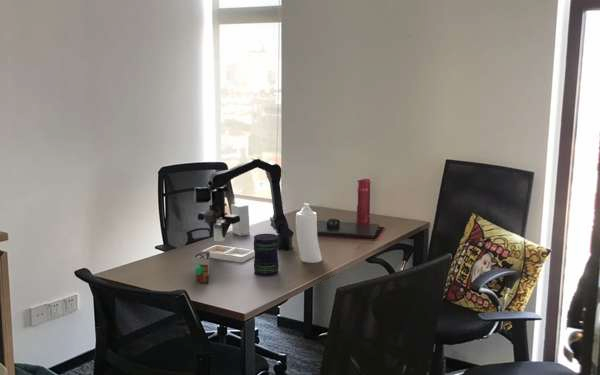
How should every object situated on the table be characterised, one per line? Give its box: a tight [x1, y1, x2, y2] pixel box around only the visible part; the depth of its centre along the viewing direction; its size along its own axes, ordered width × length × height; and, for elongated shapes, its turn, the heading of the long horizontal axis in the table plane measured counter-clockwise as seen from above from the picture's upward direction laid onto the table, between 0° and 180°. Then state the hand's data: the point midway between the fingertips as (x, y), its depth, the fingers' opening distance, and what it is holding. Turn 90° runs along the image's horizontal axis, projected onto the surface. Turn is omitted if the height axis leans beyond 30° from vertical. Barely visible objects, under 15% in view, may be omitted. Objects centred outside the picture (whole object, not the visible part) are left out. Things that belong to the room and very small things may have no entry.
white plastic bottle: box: [295, 202, 323, 264], centre depth 260 cm, size 12×11×25 cm
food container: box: [192, 250, 211, 285], centre depth 236 cm, size 12×6×10 cm, turn 5°
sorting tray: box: [201, 244, 255, 264], centre depth 268 cm, size 20×11×2 cm, turn 64°
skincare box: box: [230, 202, 251, 236], centre depth 306 cm, size 8×6×15 cm
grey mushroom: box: [213, 222, 225, 242], centre depth 269 cm, size 5×5×7 cm
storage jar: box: [253, 233, 279, 278], centre depth 244 cm, size 10×10×15 cm
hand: (219, 236), depth 269 cm, fingers closed on grey mushroom, 5 cm apart
